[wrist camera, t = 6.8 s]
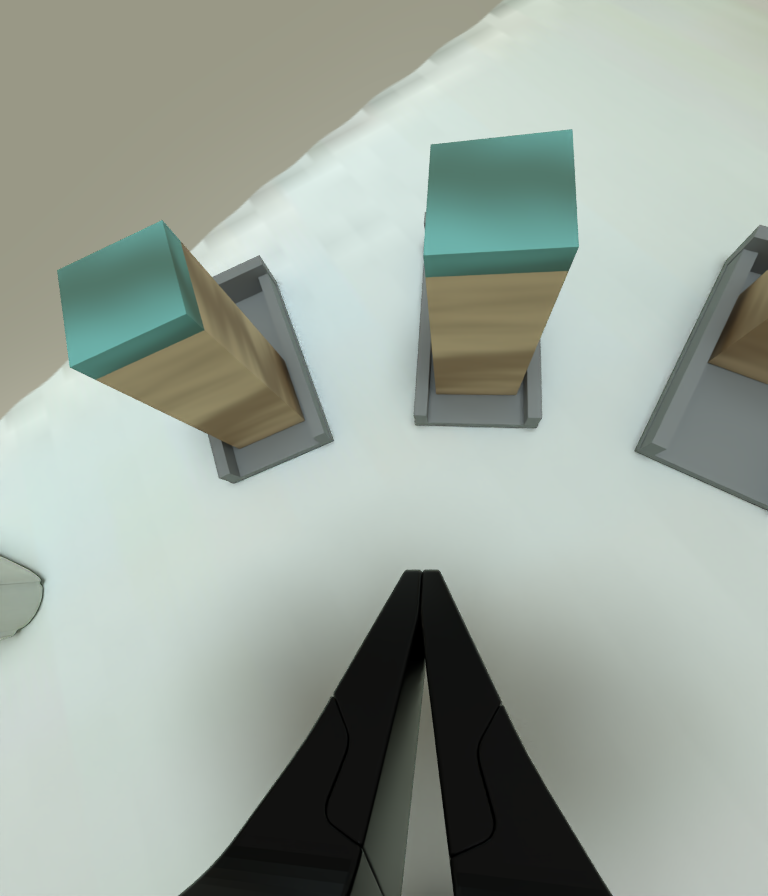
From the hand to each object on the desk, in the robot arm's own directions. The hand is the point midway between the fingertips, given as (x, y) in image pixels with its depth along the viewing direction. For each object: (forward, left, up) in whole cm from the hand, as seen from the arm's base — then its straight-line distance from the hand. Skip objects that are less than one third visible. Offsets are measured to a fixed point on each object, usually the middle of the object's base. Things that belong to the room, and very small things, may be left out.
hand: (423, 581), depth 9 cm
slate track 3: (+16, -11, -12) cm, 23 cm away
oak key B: (+12, +2, -11) cm, 16 cm away
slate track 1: (+6, +16, -12) cm, 20 cm away
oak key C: (+4, +14, -11) cm, 18 cm away
